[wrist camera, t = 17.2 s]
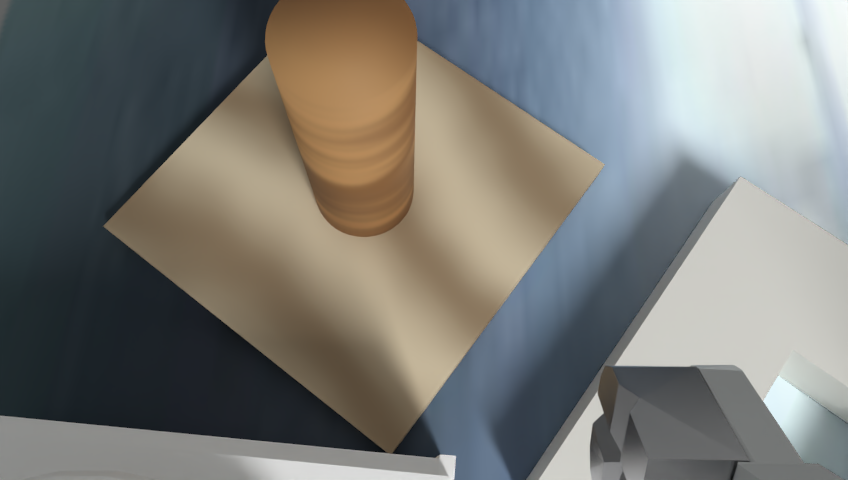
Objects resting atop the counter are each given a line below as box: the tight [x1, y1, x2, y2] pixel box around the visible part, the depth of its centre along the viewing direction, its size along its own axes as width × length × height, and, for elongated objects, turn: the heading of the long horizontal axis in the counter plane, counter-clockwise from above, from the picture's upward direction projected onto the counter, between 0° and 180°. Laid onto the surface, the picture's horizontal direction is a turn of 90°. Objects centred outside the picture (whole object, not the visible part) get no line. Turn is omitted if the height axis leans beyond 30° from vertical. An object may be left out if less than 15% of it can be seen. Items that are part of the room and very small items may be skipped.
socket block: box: [526, 176, 848, 480], centre depth 28 cm, size 16×16×3 cm
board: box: [104, 41, 605, 454], centre depth 33 cm, size 16×16×1 cm
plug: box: [265, 0, 417, 237], centre depth 26 cm, size 4×4×12 cm
